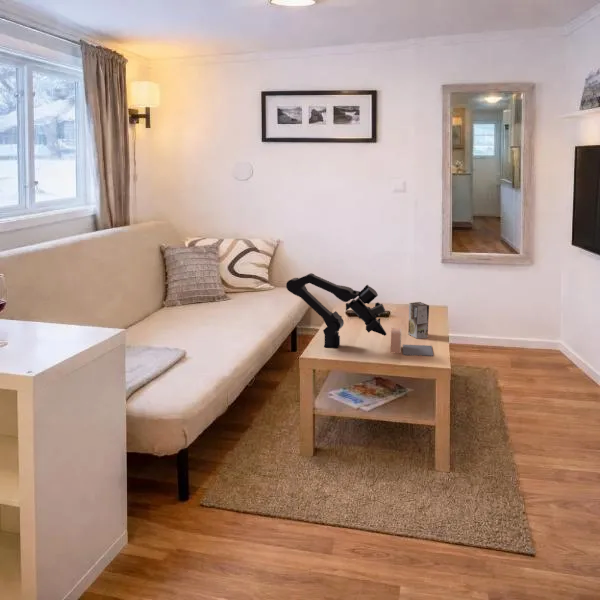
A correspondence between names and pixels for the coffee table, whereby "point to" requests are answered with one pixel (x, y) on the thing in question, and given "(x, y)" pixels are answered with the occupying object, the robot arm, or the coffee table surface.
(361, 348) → the coffee table surface
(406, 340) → the coffee table surface
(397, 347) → the pinkish brown block
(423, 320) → the coffee box
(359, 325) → the coffee table surface
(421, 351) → the mat
